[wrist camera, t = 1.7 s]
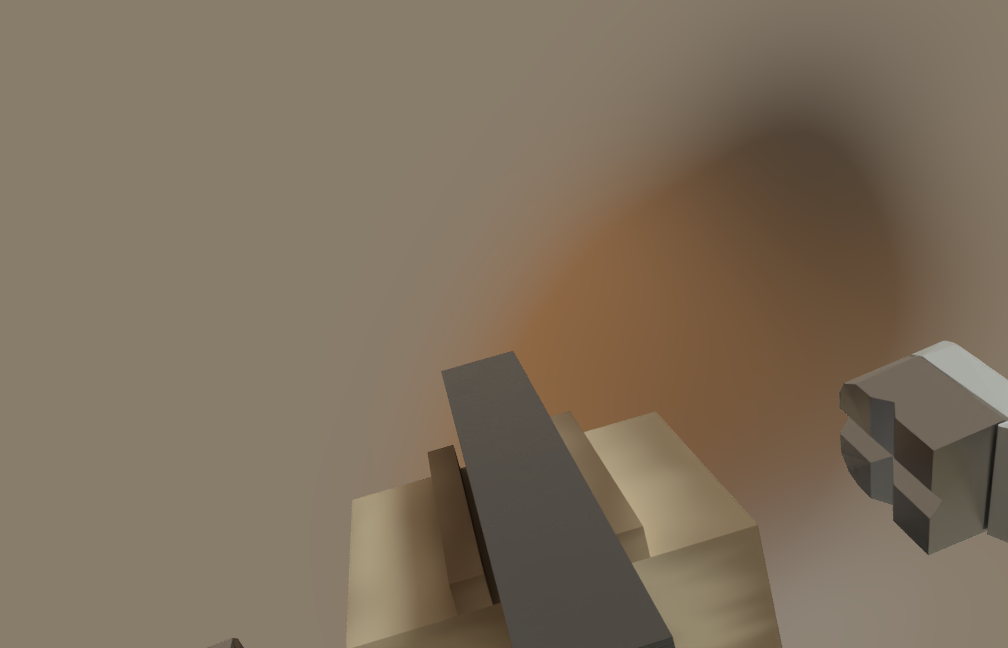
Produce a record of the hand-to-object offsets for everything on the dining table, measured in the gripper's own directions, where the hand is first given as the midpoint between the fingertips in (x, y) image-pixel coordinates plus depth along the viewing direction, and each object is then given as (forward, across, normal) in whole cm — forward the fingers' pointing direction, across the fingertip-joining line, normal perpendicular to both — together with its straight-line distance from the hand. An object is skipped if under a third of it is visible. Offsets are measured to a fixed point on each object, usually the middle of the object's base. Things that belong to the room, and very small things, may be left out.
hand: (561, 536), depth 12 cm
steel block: (+12, -2, +13) cm, 17 cm away
